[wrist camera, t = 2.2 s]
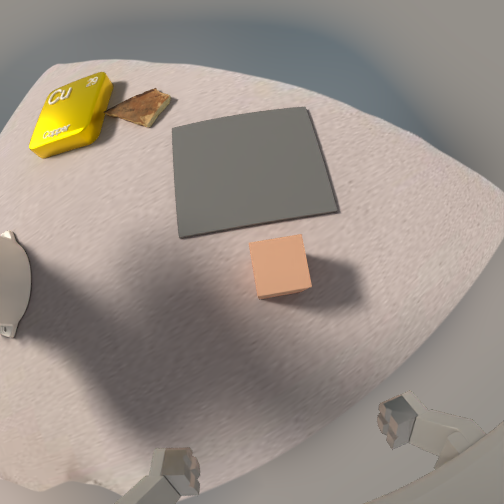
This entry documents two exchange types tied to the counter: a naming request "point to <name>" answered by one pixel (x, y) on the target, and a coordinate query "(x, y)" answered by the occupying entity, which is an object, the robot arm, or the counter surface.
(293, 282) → the terracotta block
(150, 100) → the shard
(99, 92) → the element tile
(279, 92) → the counter surface
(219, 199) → the charcoal mat
